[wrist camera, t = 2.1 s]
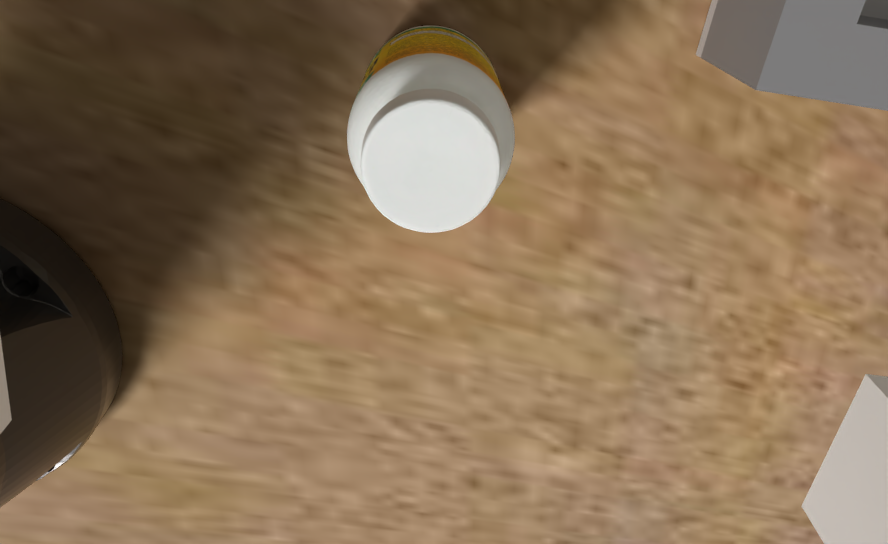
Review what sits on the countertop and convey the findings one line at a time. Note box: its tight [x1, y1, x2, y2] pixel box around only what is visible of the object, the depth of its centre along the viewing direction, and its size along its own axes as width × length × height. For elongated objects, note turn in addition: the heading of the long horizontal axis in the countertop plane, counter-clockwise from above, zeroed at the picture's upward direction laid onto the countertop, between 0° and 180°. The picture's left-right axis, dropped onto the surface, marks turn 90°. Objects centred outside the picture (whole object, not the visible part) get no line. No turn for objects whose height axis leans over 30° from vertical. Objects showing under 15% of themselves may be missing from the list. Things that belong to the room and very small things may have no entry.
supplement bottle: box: [347, 26, 515, 233], centre depth 25 cm, size 5×5×10 cm
